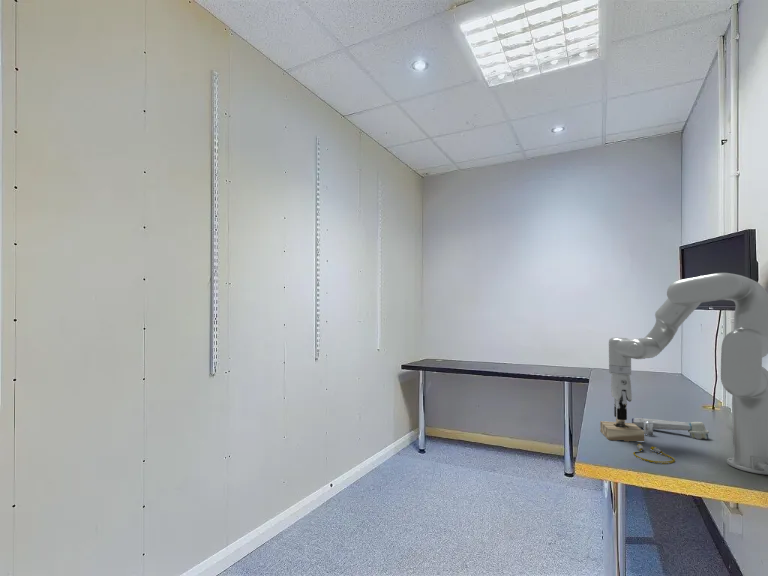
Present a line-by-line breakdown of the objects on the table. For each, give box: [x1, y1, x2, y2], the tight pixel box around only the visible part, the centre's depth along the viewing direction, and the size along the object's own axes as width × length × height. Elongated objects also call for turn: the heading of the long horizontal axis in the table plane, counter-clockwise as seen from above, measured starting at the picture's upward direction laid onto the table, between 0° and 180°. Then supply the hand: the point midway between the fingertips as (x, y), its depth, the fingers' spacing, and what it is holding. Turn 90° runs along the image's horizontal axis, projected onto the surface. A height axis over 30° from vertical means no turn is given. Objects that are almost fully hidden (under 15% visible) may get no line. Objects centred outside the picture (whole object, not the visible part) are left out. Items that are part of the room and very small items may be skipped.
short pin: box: [643, 421, 654, 436], centre depth 164 cm, size 3×3×5 cm
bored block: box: [599, 420, 645, 442], centre depth 161 cm, size 12×12×4 cm
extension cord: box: [632, 443, 676, 465], centre depth 139 cm, size 12×16×2 cm
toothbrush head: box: [631, 417, 710, 440], centre depth 167 cm, size 5×7×25 cm
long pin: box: [615, 399, 626, 428], centre depth 162 cm, size 3×3×12 cm
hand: (620, 418), depth 162 cm, fingers closed on long pin, 3 cm apart
